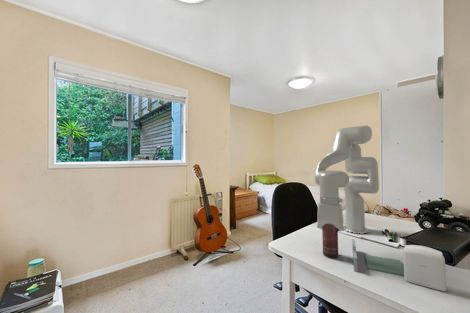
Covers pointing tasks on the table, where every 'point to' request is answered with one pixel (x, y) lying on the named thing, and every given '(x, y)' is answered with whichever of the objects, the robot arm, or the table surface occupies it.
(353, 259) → the acrylic wall
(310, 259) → the table surface
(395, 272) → the mat
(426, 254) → the photo printer
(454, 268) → the table surface
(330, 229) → the can
